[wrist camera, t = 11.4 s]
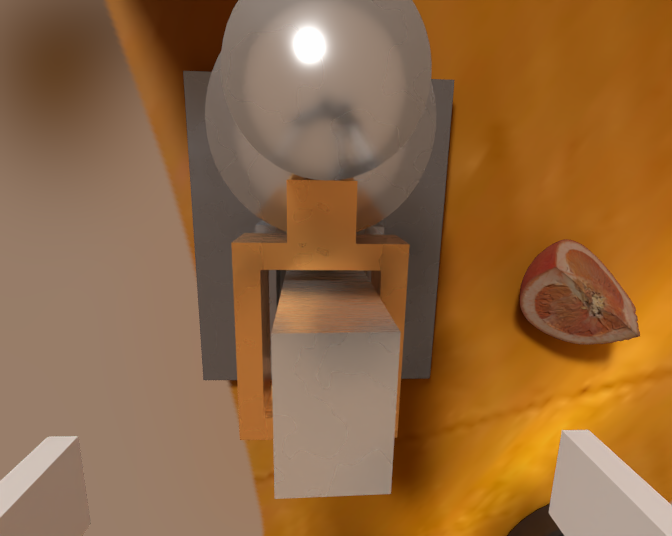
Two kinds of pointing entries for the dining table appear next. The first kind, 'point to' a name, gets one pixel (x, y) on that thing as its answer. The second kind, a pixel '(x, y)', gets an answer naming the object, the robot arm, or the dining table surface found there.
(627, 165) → the dining table surface
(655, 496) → the robot arm
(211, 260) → the grey press stand
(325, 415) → the rectangular block
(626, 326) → the fruit slice
